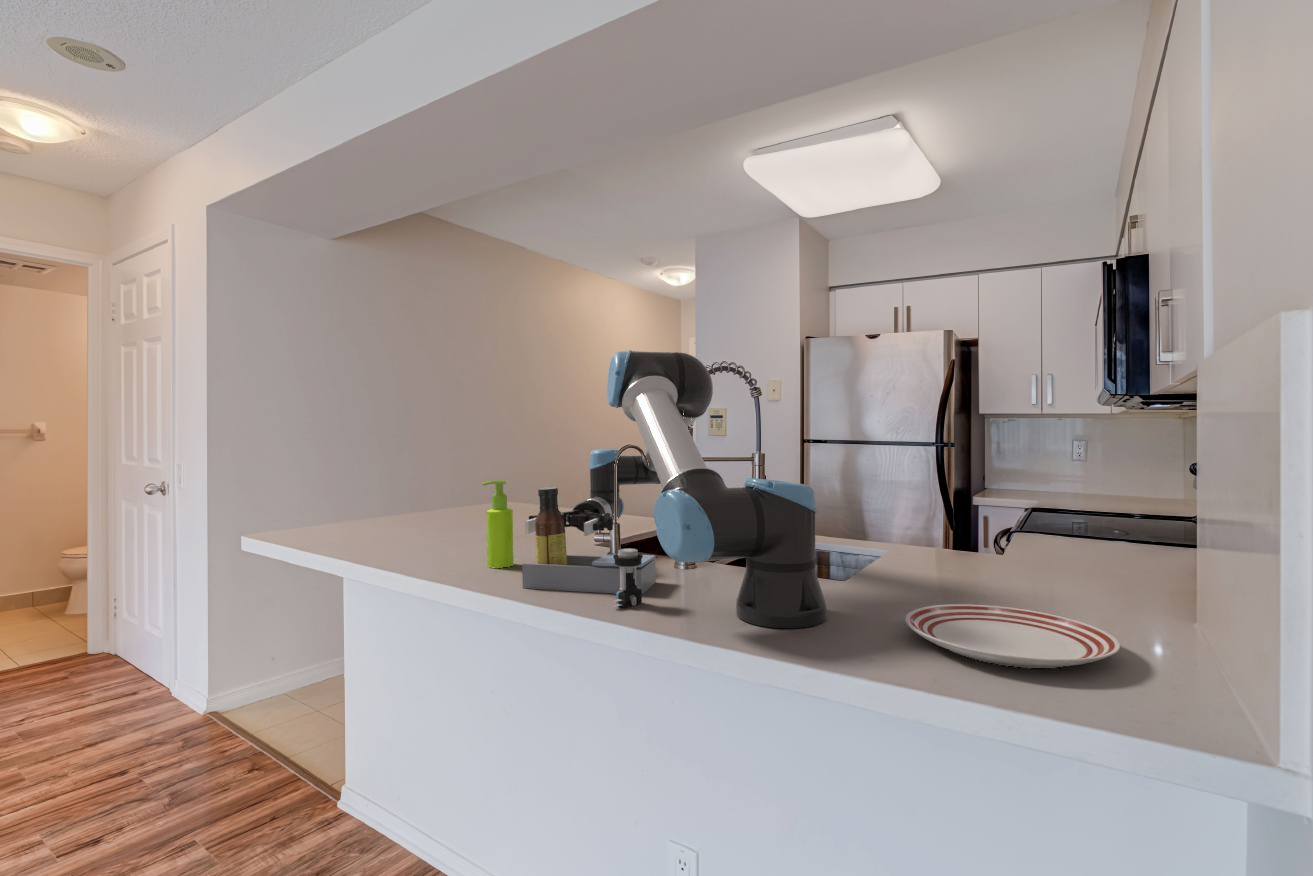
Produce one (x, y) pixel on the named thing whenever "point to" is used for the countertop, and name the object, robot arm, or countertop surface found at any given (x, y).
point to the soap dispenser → (499, 529)
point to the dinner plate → (1012, 635)
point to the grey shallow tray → (583, 576)
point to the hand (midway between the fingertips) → (555, 528)
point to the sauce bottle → (550, 529)
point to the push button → (628, 578)
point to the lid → (610, 561)
